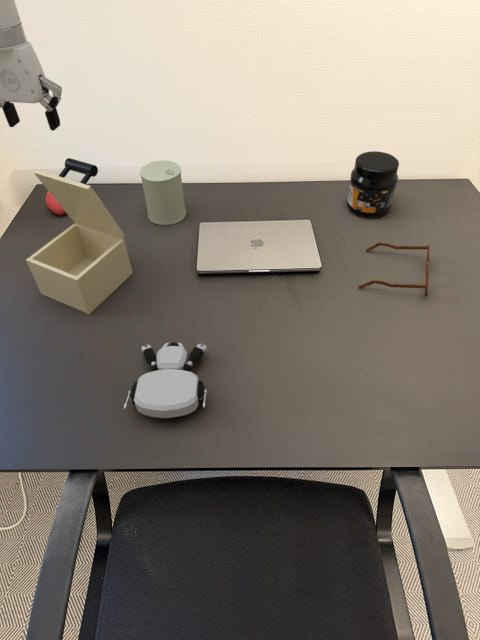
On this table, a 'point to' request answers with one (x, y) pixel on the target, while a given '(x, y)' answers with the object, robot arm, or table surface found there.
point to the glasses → (401, 284)
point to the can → (163, 192)
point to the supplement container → (372, 184)
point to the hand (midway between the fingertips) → (35, 126)
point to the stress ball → (54, 204)
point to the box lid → (80, 197)
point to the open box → (81, 267)
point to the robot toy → (169, 382)
